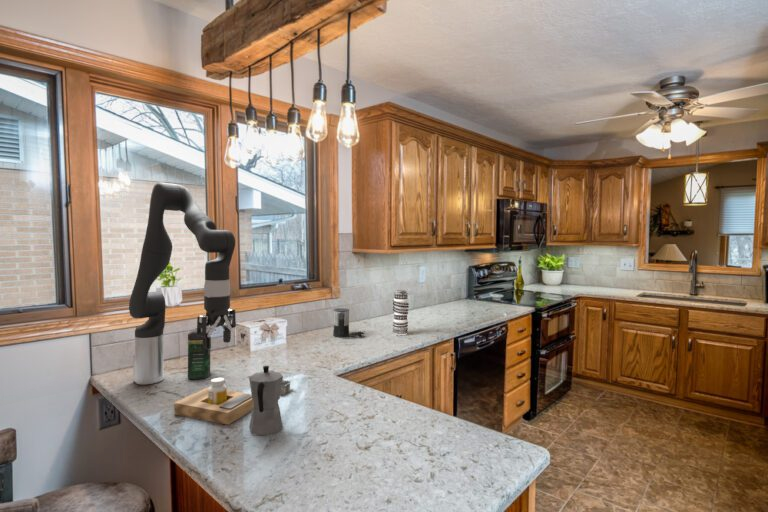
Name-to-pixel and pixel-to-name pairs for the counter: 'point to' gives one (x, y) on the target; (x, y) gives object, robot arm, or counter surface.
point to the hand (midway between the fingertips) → (217, 345)
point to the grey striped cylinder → (400, 312)
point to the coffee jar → (197, 356)
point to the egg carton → (285, 387)
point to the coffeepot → (265, 402)
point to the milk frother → (342, 323)
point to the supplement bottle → (217, 391)
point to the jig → (215, 407)
